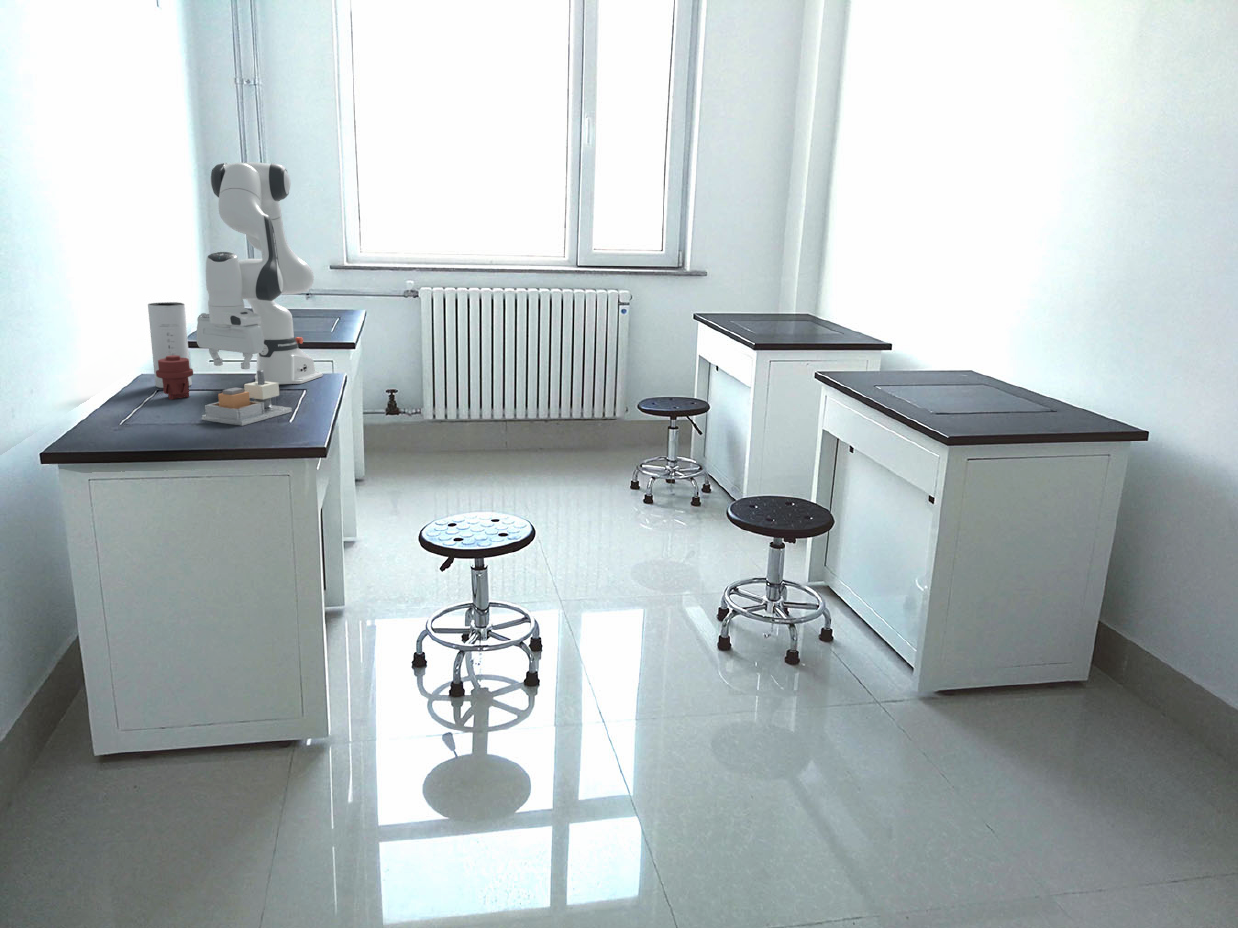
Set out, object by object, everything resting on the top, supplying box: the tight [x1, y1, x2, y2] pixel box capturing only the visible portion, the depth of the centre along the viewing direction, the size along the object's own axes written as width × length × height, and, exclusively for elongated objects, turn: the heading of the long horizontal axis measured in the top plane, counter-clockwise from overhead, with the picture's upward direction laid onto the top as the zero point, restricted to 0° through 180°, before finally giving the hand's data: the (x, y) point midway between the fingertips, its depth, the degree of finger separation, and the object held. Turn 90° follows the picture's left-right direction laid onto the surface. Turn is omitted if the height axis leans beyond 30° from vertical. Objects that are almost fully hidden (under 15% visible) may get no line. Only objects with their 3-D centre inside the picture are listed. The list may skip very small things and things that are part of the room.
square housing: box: [243, 381, 280, 399], centre depth 271 cm, size 6×6×4 cm
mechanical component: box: [156, 355, 194, 400], centre depth 286 cm, size 12×10×10 cm
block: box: [217, 386, 251, 409], centre depth 262 cm, size 5×6×7 cm
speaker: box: [147, 301, 192, 389], centre depth 300 cm, size 11×10×26 cm
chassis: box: [201, 370, 293, 427], centre depth 266 cm, size 19×14×12 cm
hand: (232, 367), depth 260 cm, fingers open, 8 cm apart
